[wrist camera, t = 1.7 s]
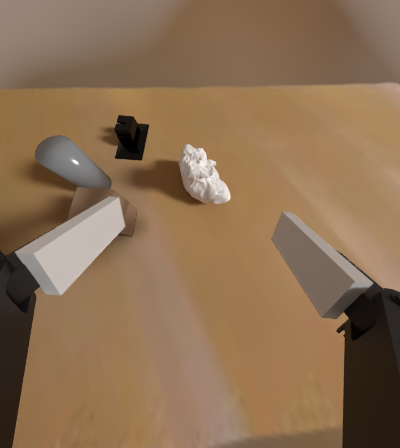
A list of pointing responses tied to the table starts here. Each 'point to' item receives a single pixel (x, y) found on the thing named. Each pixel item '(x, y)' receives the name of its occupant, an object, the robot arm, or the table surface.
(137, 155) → the notched block on base
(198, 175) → the bust
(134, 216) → the walnut block
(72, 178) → the grey rounded cylinder
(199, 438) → the table surface
